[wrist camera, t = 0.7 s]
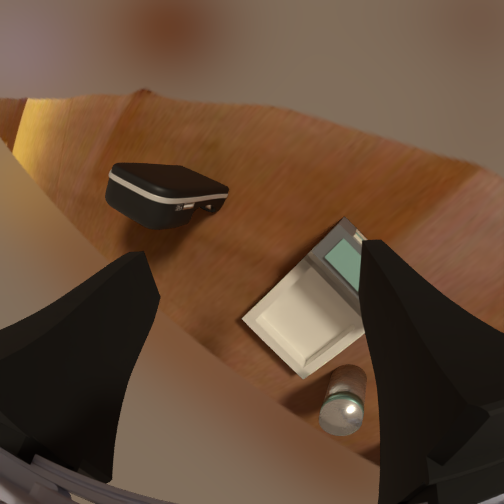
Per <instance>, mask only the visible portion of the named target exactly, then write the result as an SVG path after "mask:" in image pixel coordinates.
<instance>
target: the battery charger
mask: <svg viewBox="0 0 504 504" xmlns="http://www.w3.org/2000/svg"><path fill="white" fill-rule="evenodd" d="M109 177H110V178H109V182H108V185H107V189H106V195H105V198H106V201H107V203H108V204H109V205H110V206H111V207H113V208H114V209H116V210H117V211H119V212H121V213H122V214H124V215H125V216H127V217H129V218H130V219H132V220H134V221H136V222H137V223H139V224H141V225H142V226H144V227H146V228H149V229H155V230H161V229H169V228H175V227H179V226H182V225H185V224H187V223H188V222H189V221H190V219H191V217H192V214H193V212H194V211H195V210H196V209H197V208H199V207H200V208H202V209H204V210H206V211H209V212H216V211H218V210H219V209H220V208H221V207H222V205H223V204H224V201H225V199H226V198H227V196H228V191H229V188H228V187H227V186H225V185H223V184H221V183H219V182H216V181H214V180H212V179H210V178H208V177H206V176H203V175H201V174H199V173H197V172H194V171H192V170H190V169H188V168H185V167H183V166H178V165H161V164H147V163H116V164H114V165H113V167H112V170H110V173H109Z"/></svg>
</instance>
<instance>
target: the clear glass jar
mask: <svg viewBox="0 0 504 504" xmlns="http://www.w3.org/2000/svg"><path fill="white" fill-rule="evenodd" d="M366 382H367V377H366V374H365V372H364V371H363V370H362V369H361V368H360V367H358V366H355V365H342V366H340V367H338V368H336V369H335V370H334V371H333V373H332V375H331V378H330V381H329V385H328V389H327V392H326V396H325V399H324V401H323V404H322V407H321V411H320V416H319V424H320V426H321V427H322V429H323V430H325V431H326V432H328V433H330V434H332V435H337V436H345V435H349V434H352V433H354V432H356V431H357V430H358V429H359V428H360V426H361V424H362V419H363V415H364V402H365V392H366Z"/></svg>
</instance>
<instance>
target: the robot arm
mask: <svg viewBox="0 0 504 504" xmlns="http://www.w3.org/2000/svg"><path fill="white" fill-rule="evenodd" d="M358 295H359V303H360V310H361V318H362V322H363V327H364V331H365V335H366V339H367V343H368V347H369V351H370V356H371V360H372V364H373V369H374V373H375V379H376V385H377V393H378V405H379V421H380V483H379V499H378V504H504V333H502V332H500V331H498V330H497V329H495V328H493V327H491V326H490V325H488V324H486V323H485V322H483V321H481V320H480V319H478V318H476V317H475V316H473V315H472V314H470V313H469V312H467V311H466V310H464V309H463V308H461V307H460V306H459V305H457V304H456V303H454V302H453V301H451V300H450V299H449V298H447V297H446V296H445V295H443V294H442V293H441V292H440V291H438V290H437V289H436V288H435V287H434V286H432V285H431V284H430V283H429V282H427V281H426V280H425V279H424V278H423V277H422V276H420V275H419V274H418V273H417V272H416V271H415V270H414V269H413V268H411V267H410V266H409V265H408V264H407V263H406V262H405V261H404V260H403V259H402V258H401V257H400V256H398V255H397V254H396V253H395V252H394V251H393V250H392V249H391V248H390V247H389V246H388V245H387V244H385V243H384V242H383V241H382V240H362V249H361V264H360V277H359V288H358ZM159 301H160V294H159V292H158V289H157V286H156V284H155V281H154V278H153V276H152V273H151V270H150V267H149V264H148V262H147V259H146V256H145V253H144V251H141V252H129V253H127V254H125V255H123V256H121V257H120V258H118V259H116V260H115V261H113V262H112V263H110V264H109V265H107V266H106V267H104V268H103V269H102V270H100V271H99V272H97V273H96V274H94V275H93V276H92V277H90V278H89V279H87V280H86V281H84V282H83V283H82V284H80V285H79V286H77V287H76V288H74V289H73V290H71V291H70V292H68V293H67V294H65V295H64V296H63V297H61V298H60V299H58V300H56V301H55V302H53V303H52V304H50V305H48V306H47V307H45V308H43V309H41V310H40V311H38V312H36V313H34V314H33V315H31V316H29V317H27V318H25V319H23V320H21V321H19V322H17V323H15V324H13V325H10V326H8V327H6V328H3V329H1V330H0V504H79V503H77V502H75V501H73V500H72V499H71V495H70V494H69V493H72V494H74V495H76V496H78V497H81V498H83V499H85V500H88V501H90V502H92V503H95V504H176V503H171V502H167V501H163V500H158V499H155V498H151V497H147V496H143V495H139V494H136V493H133V492H129V491H126V490H123V489H119V488H116V487H114V486H110V485H108V484H106V483H108V482H110V481H111V480H112V470H113V456H114V446H115V439H116V433H117V426H118V421H119V417H120V411H121V407H122V402H123V399H124V395H125V392H126V388H127V385H128V381H129V378H130V376H131V373H132V370H133V368H134V366H135V363H136V361H137V359H138V356H139V354H140V352H141V349H142V347H143V345H144V343H145V340H146V338H147V336H148V333H149V331H150V329H151V327H152V324H153V322H154V319H155V315H156V312H157V309H158V305H159Z"/></svg>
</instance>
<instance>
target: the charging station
mask: <svg viewBox="0 0 504 504" xmlns="http://www.w3.org/2000/svg"><path fill="white" fill-rule="evenodd" d="M362 240H367V239H366V238H365V237H364V236H363V235H362V233H361V232H360V231H359V230H358V229H357V228H356V227H355V226H354V225H353V224H352V223H351V222H350V221H349V220H348V219H347V218H346V217H345V216H344V217H343V218H342V219H341V221H340V222H339V223H338V224H337V225H336V226H335V227H334V228H333V229H332V230H331V231H330V232H329V233H328V234H327V235H326V236H325V237H324V238H323V239H322V240H321V241H320V242H319V243H318V244H317V245H316V246H315V247H314V248H313V249H312V250H311V251H310V252H309V253H308V254H307V255H306V256H305V257H304V258H303V259H302V260H301V261H300V262H299V263H298V264H297V265H296V266H295V267H294V268H293V269H292V270H291V271H290V272H289V273H288V274H287V275H286V276H285V277H284V278H283V279H282V280H281V281H280V282H279V283H278V284H277V285H276V286H275V287H274V288H273V289H272V290H271V291H270V292H269V293H268V294H267V295H266V296H265V297H264V298H262V299H261V300H260V301H259V302H258V303H257V304H256V305H255V306H254V307H253V308H252V309H251V310H250V311H249V312H248V313H247V314H246V315H245V316H244V317H243V318H242V320H243V321H244V322H245V323H246V324H247V325H248V326H249V327H250V328H251V329H252V330H253V331H254V332H255V333H256V334H257V335H258V336H259V337H260V338H261V339H262V340H263V341H264V342H265V343H266V344H267V345H268V346H269V347H270V348H271V349H272V350H273V351H274V352H275V353H276V354H277V355H278V356H279V357H280V358H281V359H282V360H283V361H284V362H286V363H287V364H288V365H289V366H290V367H291V368H292V369H293V370H294V371H295V372H296V373H297V374H298V375H299V376H300V377H301V378H302V379H304V378H306V377H307V376H309V375H310V374H312V373H313V372H314V371H316V370H317V369H319V368H320V367H321V366H323V365H324V364H325V363H327V362H328V361H329V360H331V359H332V358H333V357H335V356H336V355H337V354H339V353H340V352H341V351H343V350H344V349H345V348H347V347H348V346H349V345H350V344H352V343H353V342H354V341H355V340H357V339H358V338H359V337H360V336H362V335H363V334H364V333H365V331H364V327H363V322H362V318H361V310H360V303H359V295H358V288H359V277H360V264H361V249H362Z"/></svg>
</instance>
